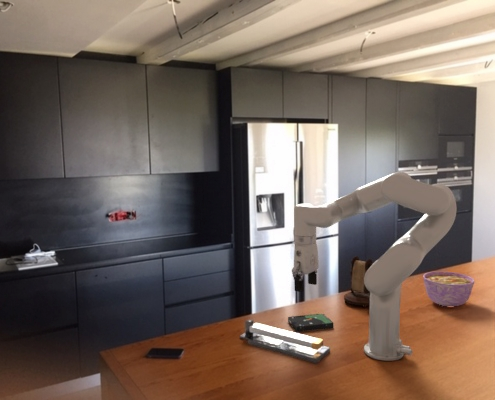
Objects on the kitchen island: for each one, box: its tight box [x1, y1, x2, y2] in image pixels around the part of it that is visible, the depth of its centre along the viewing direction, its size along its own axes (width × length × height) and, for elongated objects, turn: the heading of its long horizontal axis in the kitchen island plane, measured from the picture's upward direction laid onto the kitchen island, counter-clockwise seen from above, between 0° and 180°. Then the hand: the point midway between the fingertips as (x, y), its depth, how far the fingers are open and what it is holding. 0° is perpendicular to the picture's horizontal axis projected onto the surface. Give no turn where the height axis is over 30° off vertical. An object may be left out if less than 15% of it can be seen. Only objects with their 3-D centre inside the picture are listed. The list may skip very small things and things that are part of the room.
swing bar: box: [244, 319, 324, 350], centre depth 160 cm, size 30×4×5 cm, turn 55°
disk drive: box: [287, 313, 334, 333], centre depth 178 cm, size 10×3×15 cm
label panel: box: [239, 332, 331, 364], centre depth 160 cm, size 32×10×2 cm, turn 55°
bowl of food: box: [422, 271, 475, 307], centre depth 198 cm, size 20×20×12 cm
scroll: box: [343, 255, 374, 309], centre depth 201 cm, size 15×15×20 cm
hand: (305, 287), depth 164 cm, fingers open, 9 cm apart
